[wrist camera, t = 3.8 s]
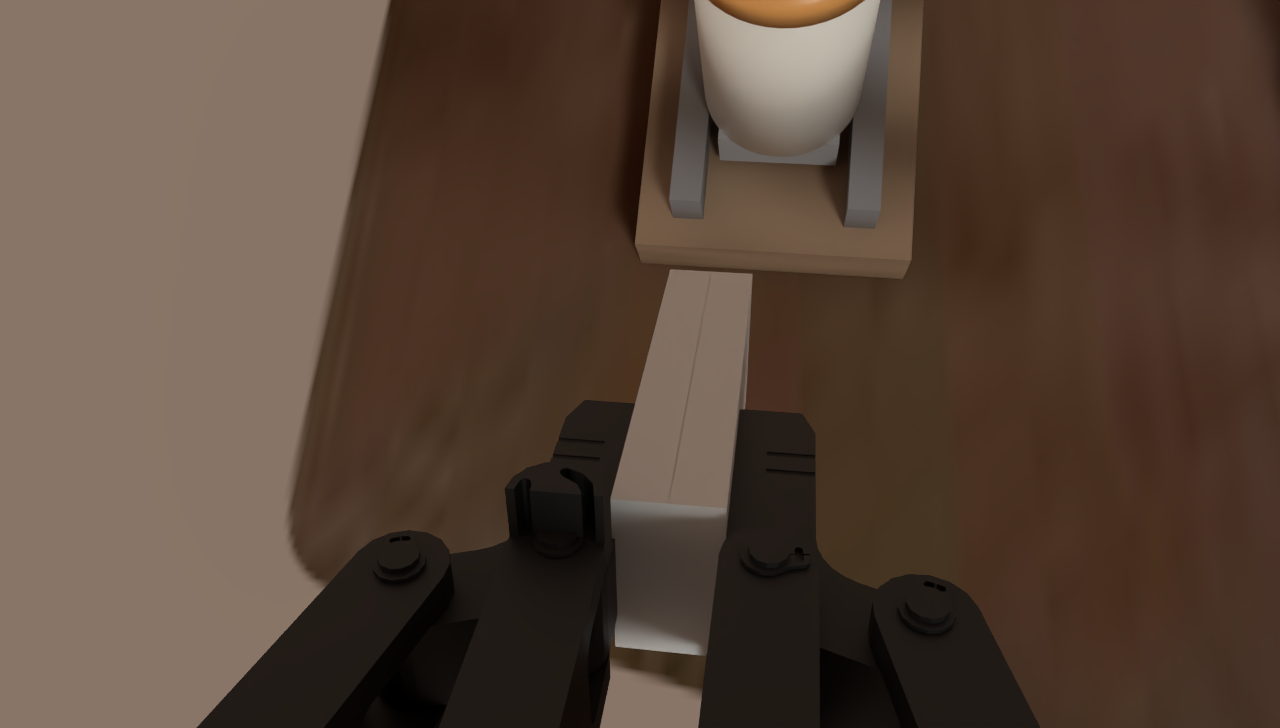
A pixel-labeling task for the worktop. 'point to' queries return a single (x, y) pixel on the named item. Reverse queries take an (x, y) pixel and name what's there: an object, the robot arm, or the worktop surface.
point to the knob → (783, 74)
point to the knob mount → (783, 169)
